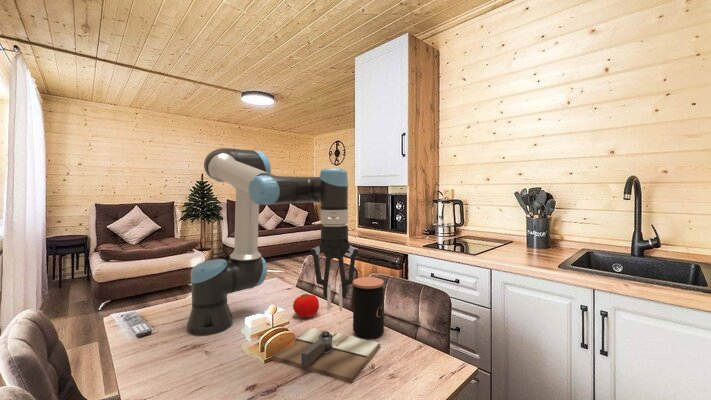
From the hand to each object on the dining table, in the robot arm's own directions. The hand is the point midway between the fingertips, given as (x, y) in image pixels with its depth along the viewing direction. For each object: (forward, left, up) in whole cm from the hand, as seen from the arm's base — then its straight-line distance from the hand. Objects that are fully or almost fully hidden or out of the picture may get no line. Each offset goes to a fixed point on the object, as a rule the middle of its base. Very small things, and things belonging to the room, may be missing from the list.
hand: (335, 308), depth 89 cm
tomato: (-28, +26, -17) cm, 42 cm away
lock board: (-6, +5, -17) cm, 18 cm away
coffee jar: (0, +23, -17) cm, 29 cm away
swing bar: (-6, 0, -15) cm, 16 cm away
